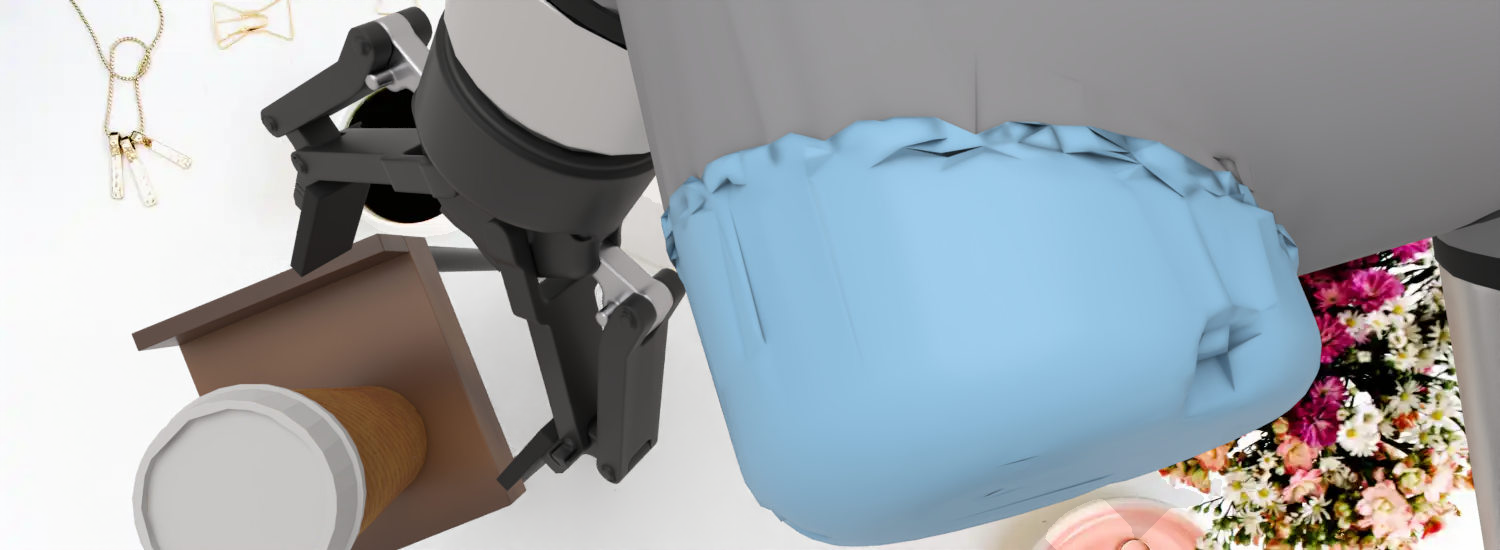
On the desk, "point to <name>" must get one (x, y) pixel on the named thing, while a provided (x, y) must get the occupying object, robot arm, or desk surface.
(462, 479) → the desk shelf
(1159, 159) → the robot arm
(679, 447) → the desk surface
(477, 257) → the shelf legs
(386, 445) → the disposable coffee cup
